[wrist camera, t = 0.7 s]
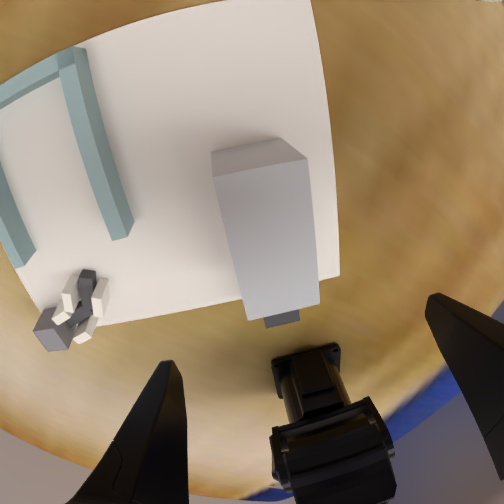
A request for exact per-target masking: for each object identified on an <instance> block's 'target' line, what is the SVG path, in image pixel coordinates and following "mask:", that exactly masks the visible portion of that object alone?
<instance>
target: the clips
mask: <svg viewBox="0 0 504 504" xmlns="http://www.w3.org/2000/svg"><path fill="white" fill-rule="evenodd" d="M78 277H79V275H75V274H71V276H70V278H69V279H68V281H67V283H66V285H65V287H64V289H63V291H62V292H61V295H62V299H61V300H60V302H59V304H58V306H57V308H56V310H55V312H54V315H53V317H52V320H53V321H54V322H55V323H56V324H57V325H60V324H61V323H63V322H64V321H66V320H68V319H69V318H71V315H72V313H74V311H75V309H76V307H77V304H78V302H79V300H80V298H81V294H80V287H79V279H78ZM109 299H110V288H109V279H104V278H99V280H98V283H97V285H96V287H95V290H94V292H93V295H92V297H91V300H92V308H93V315H91V316H89V317H88V318H86V319H84V320H83V321H81V322H79V323H78V325H77V328H76V330H75V333H74V336H73V338H72V339H73V340H74V341H75V342H76V343H78V344H81V343H83V342H85V341H87V340H88V339H90V338H92V336H93V333H94V330H95V327H96V324H97V321H98V318H99V317H102V318H103V317H104V314H105V311H106V308H107V305H108V302H109Z"/></svg>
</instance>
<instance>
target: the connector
mask: <svg viewBox="0 0 504 504" xmlns="http://www.w3.org/2000/svg"><path fill="white" fill-rule="evenodd" d="M211 162H212V178H213V182H214V187H215V191H216V195H217V199H218V203H219V208H220V212H221V216H222V220H223V224H224V228H225V232H226V236H227V240H228V245H229V249H230V253H231V257H232V261H233V265H234V269H235V273H236V277H237V281H238V284H239V288H240V292H241V296H242V300H243V304H244V308H245V312H246V316H247V320H248V321H249V320H254V319H259V318H264V322H265V326H266V328H270V327H274V326H279V325H283V324H287V323H291V322H295V321H299V320H300V317H299V309H301V308H305V307H309V306H313V305H317V304H320V297H319V279H318V264H317V250H316V238H315V226H314V215H313V204H312V194H311V185H310V176H309V167H308V159H307V158H306V157H305V156H304V155H302V154H301V153H300V152H299V151H297V150H296V149H295V148H294V147H292V146H291V145H290V144H289V143H287V142H286V141H285V140H283V139H282V138H277V139H271V140H266V141H260V142H255V143H250V144H245V145H240V146H235V147H230V148H226V149H221V150H217V151H212V152H211Z"/></svg>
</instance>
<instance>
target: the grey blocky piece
mask: <svg viewBox="0 0 504 504" xmlns="http://www.w3.org/2000/svg"><path fill="white" fill-rule="evenodd" d="M78 279H79V287H80V294H81V301H79V302H78V304H77V307H76V309H75V311H74V313H72V315H71V318H69V319H68V320H66V321H64V322H63V323H61V324H60V325H57V324H56V323H55V322H54V321H53V320H52V317H53V315H54V312H55V310H56V308H57V307H52V308H47V309H44V310H43V312H42V314H41V316H40V318H39V320H38V322H37V324H36V326H35V328H34V330H33V333H34V334H35V335H36V337H37V338H38V340H39V341H40V342H41V344H42V345H43V346H44V348H45V349H46V350H47V352H50V351H59V350H68V349H69V346H70V343H71V341H72V338H73V335H74V332H75V330H76V327H77V325H76V324H78V323H79V322H81V321H83V320H84V319H86V318H88V317H89V316H91V315H93V308H92V300H91V297H92V295H93V292H94V290H95V287H96V285H97V280H96V271H93V270H85V269H82V271H81V273H80V275H79V277H78Z"/></svg>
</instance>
